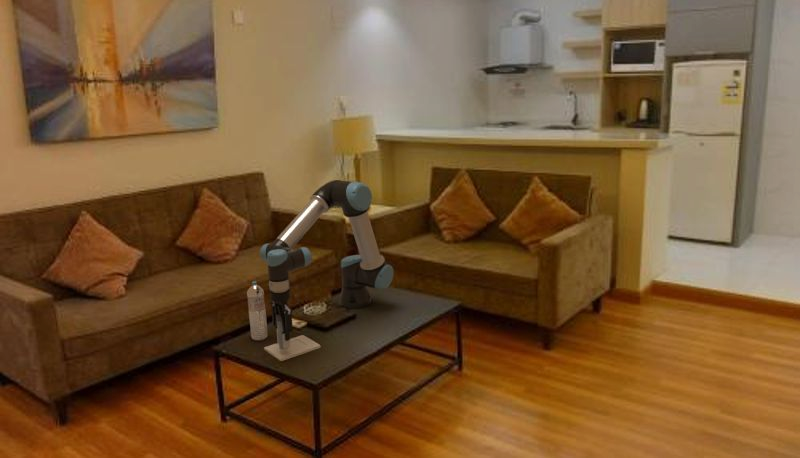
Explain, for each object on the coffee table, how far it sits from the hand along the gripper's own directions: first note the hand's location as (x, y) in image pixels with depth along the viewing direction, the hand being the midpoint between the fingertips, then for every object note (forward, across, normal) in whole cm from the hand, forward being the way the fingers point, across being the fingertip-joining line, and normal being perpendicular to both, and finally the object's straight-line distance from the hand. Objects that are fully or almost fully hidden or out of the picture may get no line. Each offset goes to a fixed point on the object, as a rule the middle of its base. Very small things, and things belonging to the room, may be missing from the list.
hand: (284, 345), depth 247 cm
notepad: (+4, -3, +5) cm, 7 cm away
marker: (+1, 0, 0) cm, 1 cm away
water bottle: (+4, -22, 0) cm, 22 cm away
